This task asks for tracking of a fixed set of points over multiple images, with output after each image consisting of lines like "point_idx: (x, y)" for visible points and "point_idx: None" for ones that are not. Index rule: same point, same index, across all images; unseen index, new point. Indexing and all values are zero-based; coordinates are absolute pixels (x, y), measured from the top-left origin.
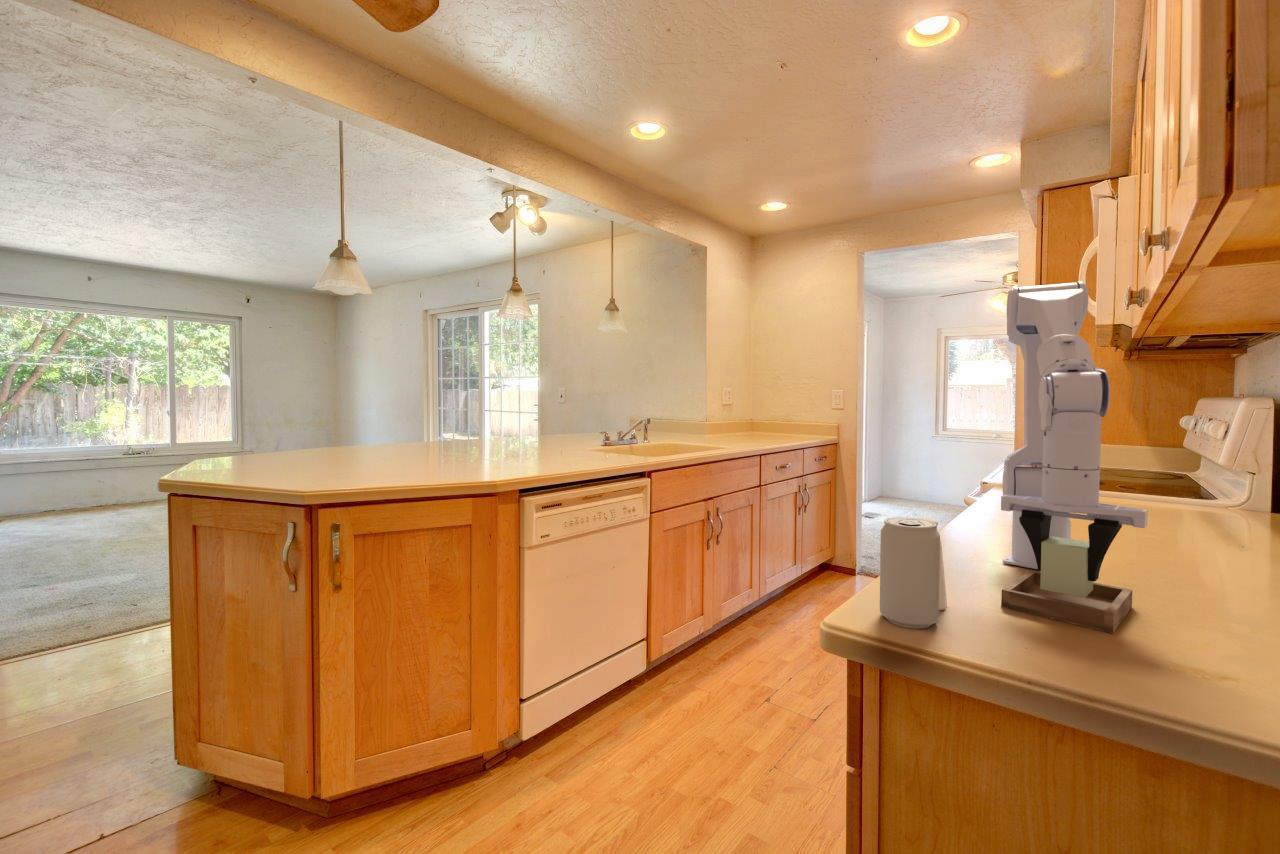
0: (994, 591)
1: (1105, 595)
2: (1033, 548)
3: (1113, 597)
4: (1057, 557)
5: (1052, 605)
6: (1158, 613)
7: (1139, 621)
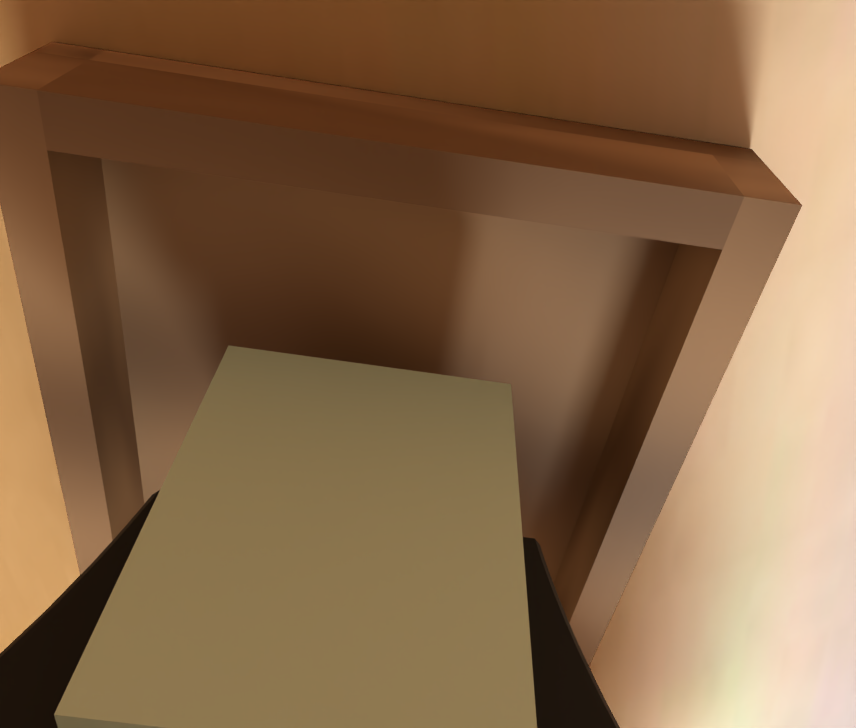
0: (757, 442)
1: None
2: (605, 711)
3: None
4: (378, 602)
5: (411, 129)
6: (24, 533)
7: (37, 379)
